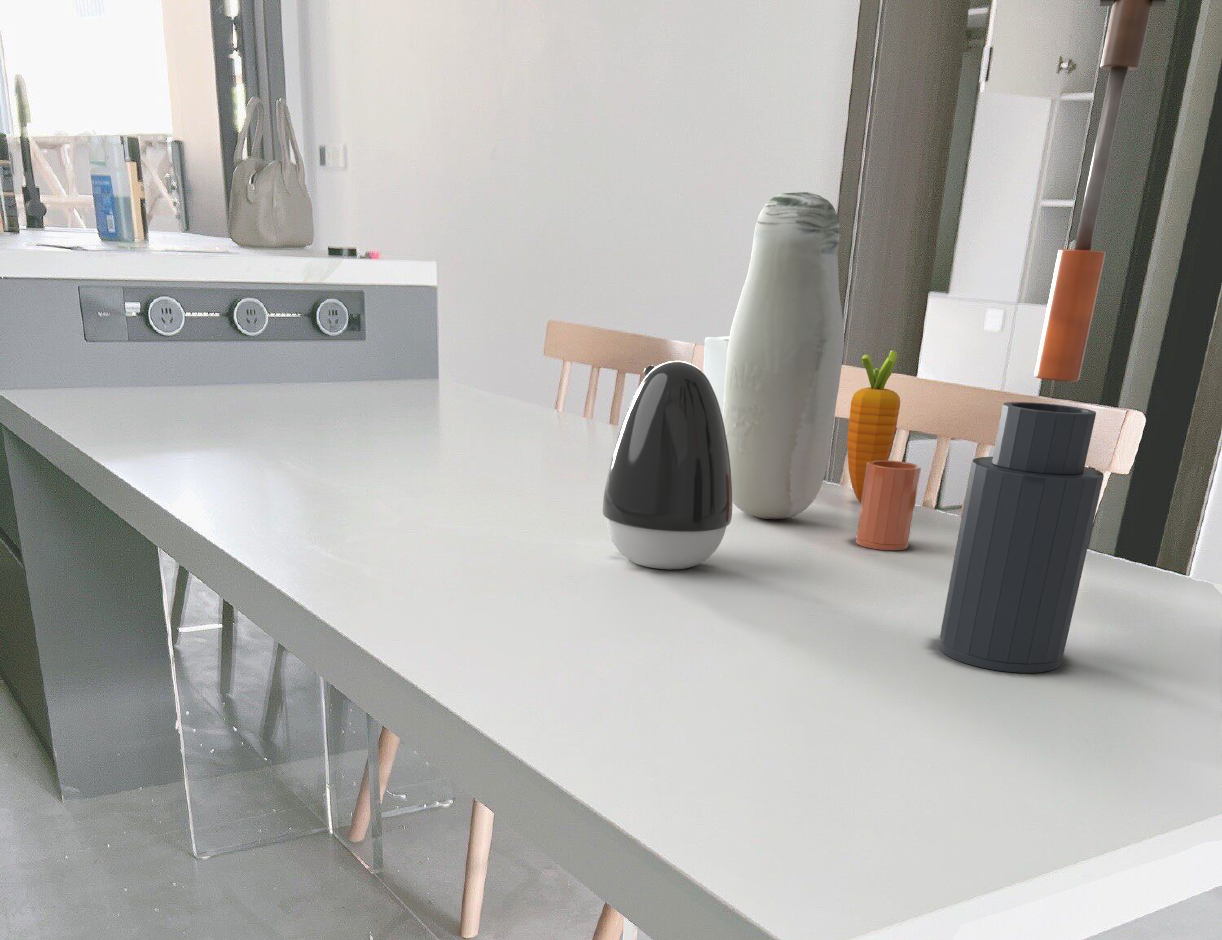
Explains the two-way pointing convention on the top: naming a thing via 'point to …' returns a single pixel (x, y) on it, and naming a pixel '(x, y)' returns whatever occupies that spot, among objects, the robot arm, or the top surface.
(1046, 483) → the steel bottle
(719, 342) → the cosmetic box
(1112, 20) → the bottle brush
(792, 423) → the pale grey bottle
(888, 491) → the cup
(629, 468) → the dark egg shaped ornament
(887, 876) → the top surface
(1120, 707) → the top surface
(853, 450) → the carrot
